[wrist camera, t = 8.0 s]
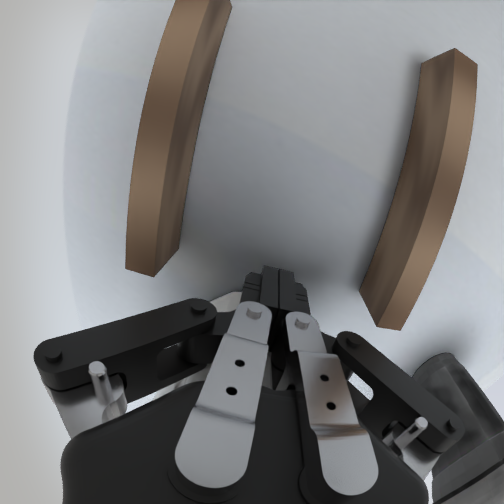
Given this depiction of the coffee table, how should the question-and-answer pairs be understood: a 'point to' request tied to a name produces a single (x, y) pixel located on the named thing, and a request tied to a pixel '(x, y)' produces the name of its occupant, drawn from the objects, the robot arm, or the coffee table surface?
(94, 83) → the coffee table surface
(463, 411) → the beverage cup
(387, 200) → the coffee table surface
